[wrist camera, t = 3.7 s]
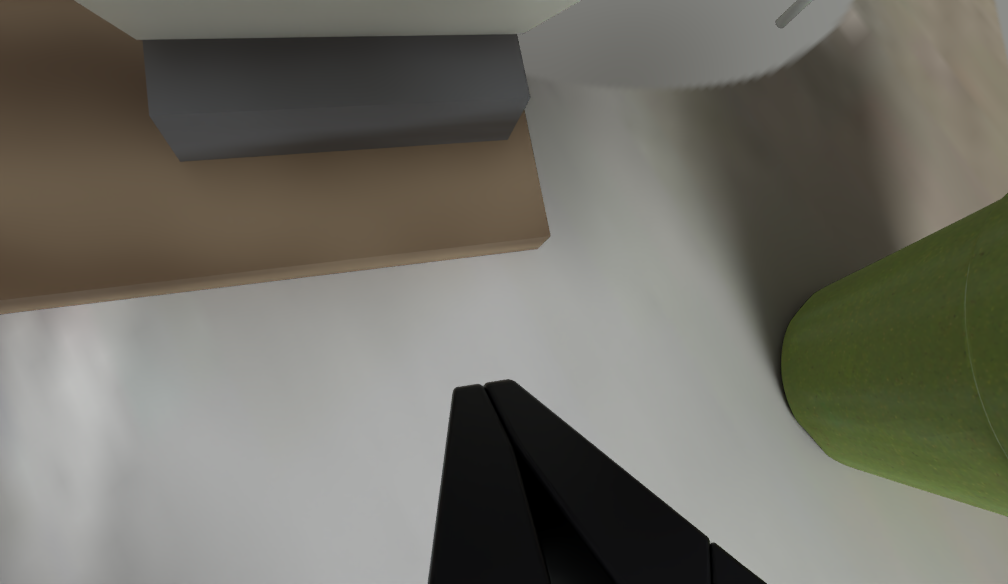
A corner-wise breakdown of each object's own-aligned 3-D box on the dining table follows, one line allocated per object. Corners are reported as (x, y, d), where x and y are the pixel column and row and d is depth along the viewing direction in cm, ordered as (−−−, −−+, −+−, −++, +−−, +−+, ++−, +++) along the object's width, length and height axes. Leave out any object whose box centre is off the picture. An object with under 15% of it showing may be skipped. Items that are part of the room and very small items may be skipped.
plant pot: (671, 286, 22) (974, 157, 11) (894, 200, 25) (1285, 40, 15) (804, 599, 20) (1295, 792, 10) (1020, 462, 24) (1552, 494, 13)
